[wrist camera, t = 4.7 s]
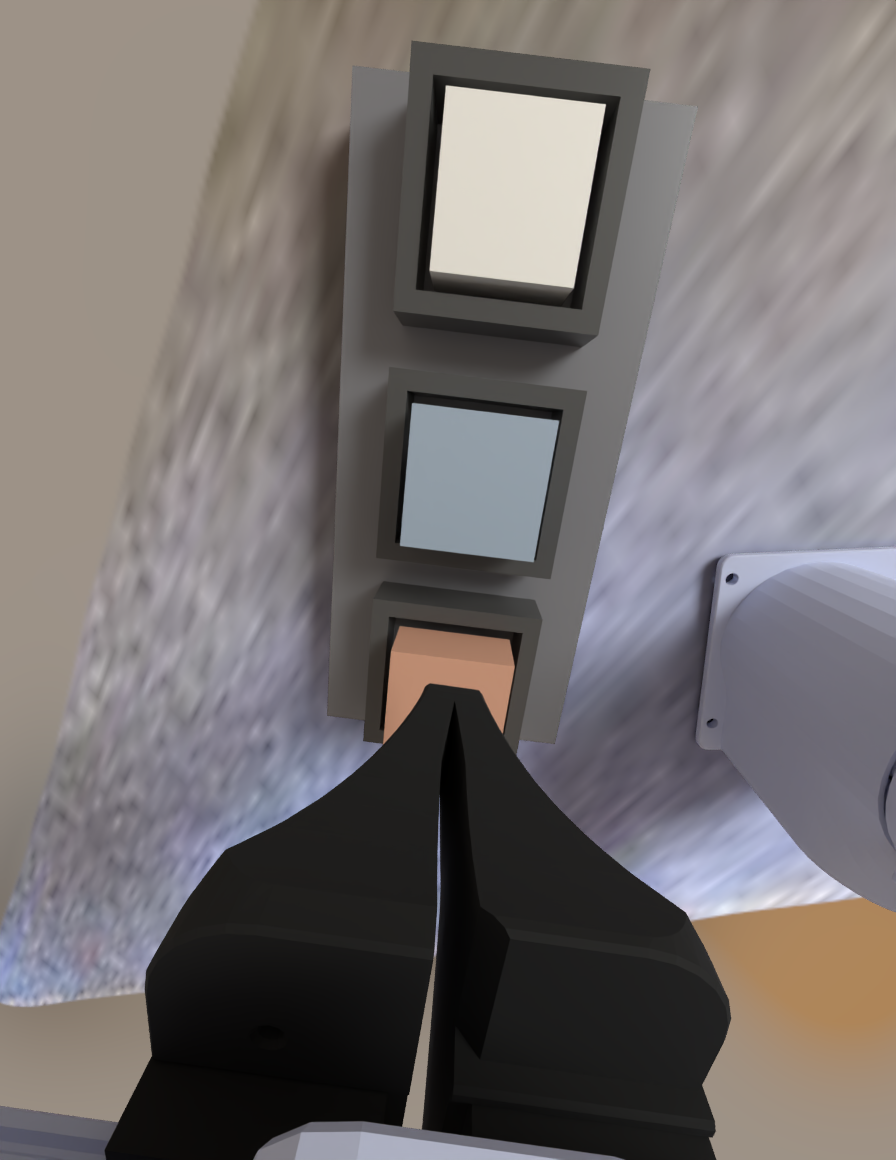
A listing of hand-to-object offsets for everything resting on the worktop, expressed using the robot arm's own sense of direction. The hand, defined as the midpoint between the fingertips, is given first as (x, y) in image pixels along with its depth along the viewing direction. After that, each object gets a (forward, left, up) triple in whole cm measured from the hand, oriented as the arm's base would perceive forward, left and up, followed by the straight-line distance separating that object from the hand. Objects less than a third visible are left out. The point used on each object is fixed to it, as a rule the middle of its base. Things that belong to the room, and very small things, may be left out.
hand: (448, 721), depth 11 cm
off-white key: (+13, -2, -7) cm, 15 cm away
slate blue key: (+5, -1, -6) cm, 8 cm away
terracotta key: (-2, 0, -6) cm, 6 cm away
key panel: (+5, -1, -9) cm, 11 cm away
